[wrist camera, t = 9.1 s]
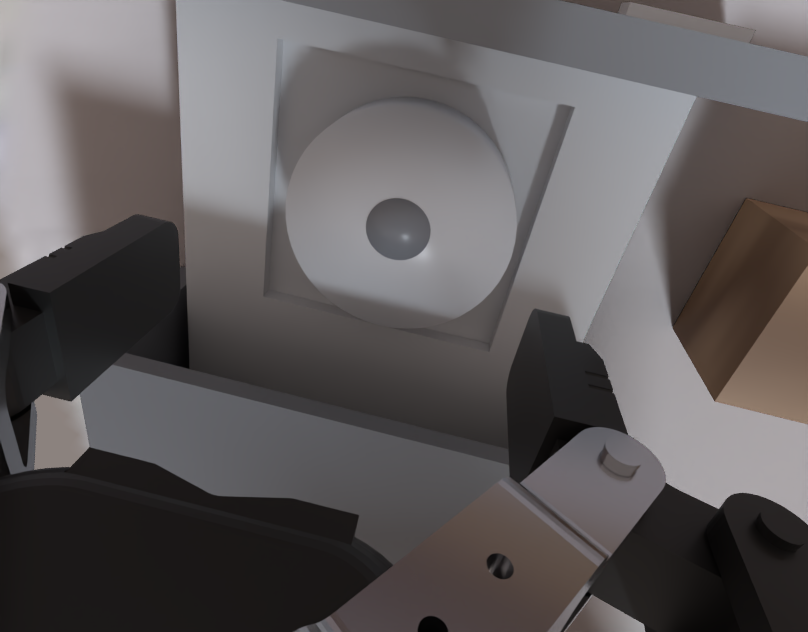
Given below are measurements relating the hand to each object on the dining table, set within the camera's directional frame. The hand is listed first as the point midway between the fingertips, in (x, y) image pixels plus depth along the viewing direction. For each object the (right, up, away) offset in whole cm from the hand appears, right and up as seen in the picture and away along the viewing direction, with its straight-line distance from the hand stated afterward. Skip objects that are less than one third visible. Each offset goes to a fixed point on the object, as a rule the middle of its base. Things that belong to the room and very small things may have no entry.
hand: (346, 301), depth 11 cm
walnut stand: (+14, +1, +5) cm, 14 cm away
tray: (+1, +2, +7) cm, 7 cm away
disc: (+1, +3, +4) cm, 5 cm away
